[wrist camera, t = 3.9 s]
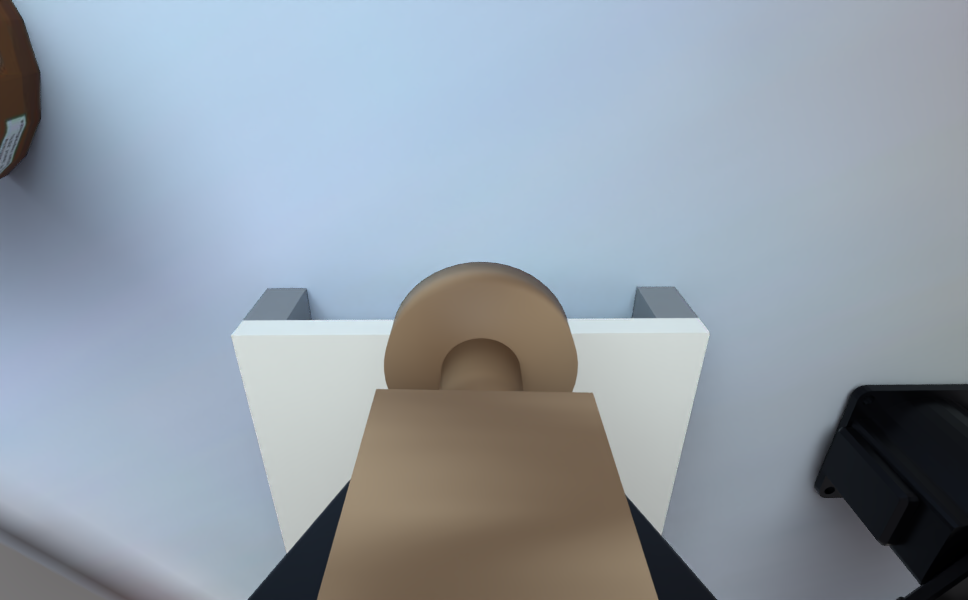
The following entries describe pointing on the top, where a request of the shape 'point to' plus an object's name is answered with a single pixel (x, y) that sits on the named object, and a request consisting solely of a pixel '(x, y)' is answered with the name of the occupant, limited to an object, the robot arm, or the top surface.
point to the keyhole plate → (360, 371)
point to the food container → (16, 89)
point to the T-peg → (484, 458)
